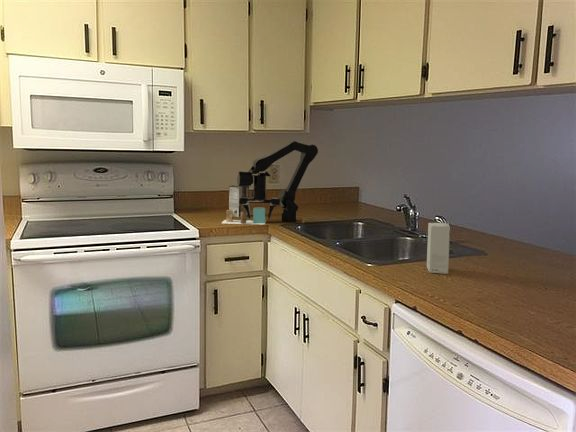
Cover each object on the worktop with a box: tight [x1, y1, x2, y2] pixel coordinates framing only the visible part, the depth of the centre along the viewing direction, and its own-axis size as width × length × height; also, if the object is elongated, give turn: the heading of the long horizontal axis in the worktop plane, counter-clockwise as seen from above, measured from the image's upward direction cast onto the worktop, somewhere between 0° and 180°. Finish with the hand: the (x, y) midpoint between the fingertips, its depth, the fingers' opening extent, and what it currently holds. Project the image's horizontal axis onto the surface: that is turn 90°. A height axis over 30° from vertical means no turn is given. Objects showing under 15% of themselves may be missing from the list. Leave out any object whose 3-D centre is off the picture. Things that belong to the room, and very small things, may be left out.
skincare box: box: [426, 222, 451, 275], centre depth 157 cm, size 8×6×15 cm
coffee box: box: [228, 184, 250, 218], centre depth 253 cm, size 9×6×16 cm
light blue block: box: [252, 206, 266, 224], centre depth 235 cm, size 5×5×7 cm
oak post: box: [225, 209, 234, 222], centre depth 236 cm, size 3×3×6 cm
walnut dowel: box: [240, 212, 247, 225], centre depth 231 cm, size 3×3×6 cm
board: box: [221, 219, 267, 226], centre depth 235 cm, size 20×10×1 cm, turn 88°
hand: (259, 219), depth 235 cm, fingers open, 9 cm apart
